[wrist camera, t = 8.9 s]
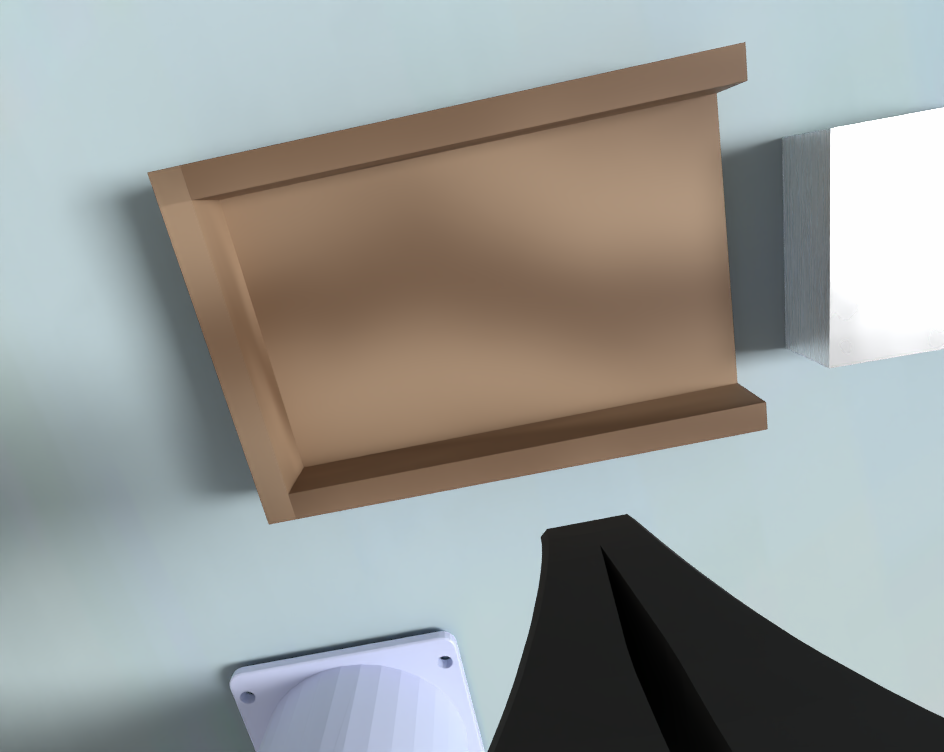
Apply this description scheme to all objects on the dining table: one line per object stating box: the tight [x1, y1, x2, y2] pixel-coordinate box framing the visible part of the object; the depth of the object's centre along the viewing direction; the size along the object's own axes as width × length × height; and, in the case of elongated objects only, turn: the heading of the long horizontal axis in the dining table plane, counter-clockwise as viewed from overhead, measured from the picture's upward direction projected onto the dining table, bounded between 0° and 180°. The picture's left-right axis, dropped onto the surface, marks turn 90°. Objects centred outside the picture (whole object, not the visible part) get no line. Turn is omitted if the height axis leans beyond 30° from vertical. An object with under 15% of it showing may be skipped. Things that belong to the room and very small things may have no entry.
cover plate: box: [782, 108, 944, 368], centre depth 16 cm, size 6×5×2 cm
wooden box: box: [148, 42, 767, 524], centre depth 16 cm, size 10×14×2 cm
